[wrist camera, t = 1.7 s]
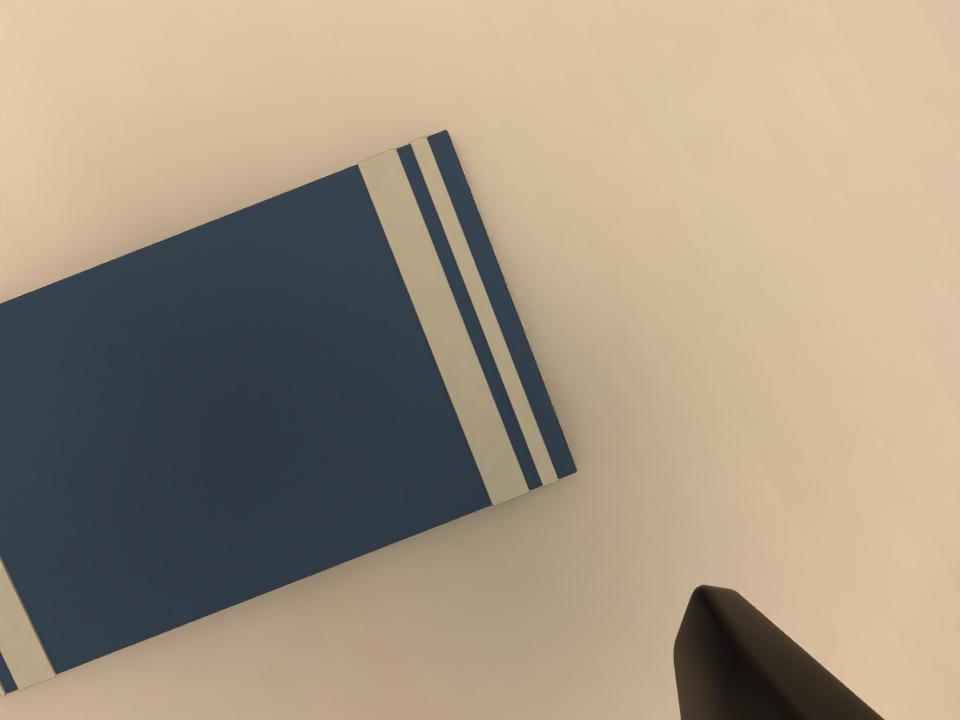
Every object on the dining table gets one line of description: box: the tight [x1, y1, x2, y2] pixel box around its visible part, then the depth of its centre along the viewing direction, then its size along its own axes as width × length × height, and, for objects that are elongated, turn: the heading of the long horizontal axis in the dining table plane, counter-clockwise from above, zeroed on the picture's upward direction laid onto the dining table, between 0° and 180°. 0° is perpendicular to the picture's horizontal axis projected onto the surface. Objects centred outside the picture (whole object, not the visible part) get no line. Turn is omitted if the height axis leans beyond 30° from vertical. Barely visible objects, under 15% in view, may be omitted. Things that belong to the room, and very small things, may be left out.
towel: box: [0, 130, 577, 698], centre depth 22 cm, size 20×11×1 cm, turn 111°
